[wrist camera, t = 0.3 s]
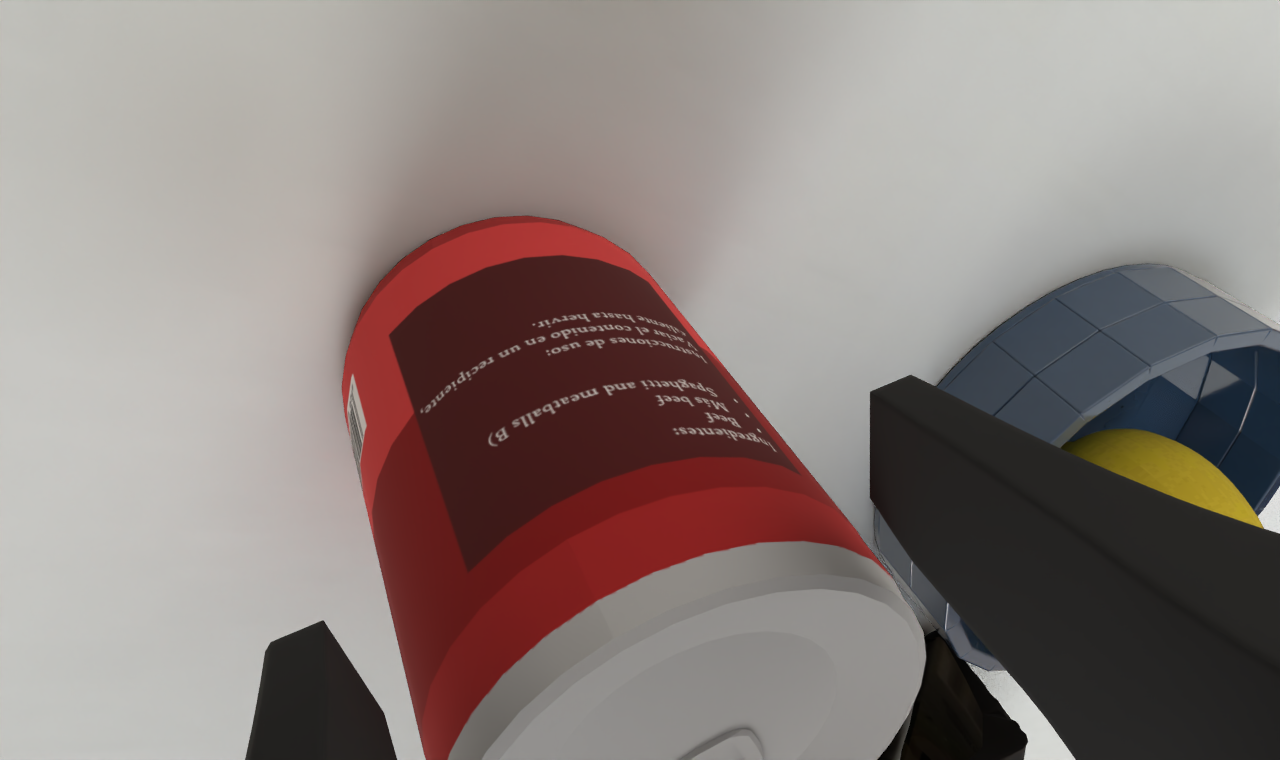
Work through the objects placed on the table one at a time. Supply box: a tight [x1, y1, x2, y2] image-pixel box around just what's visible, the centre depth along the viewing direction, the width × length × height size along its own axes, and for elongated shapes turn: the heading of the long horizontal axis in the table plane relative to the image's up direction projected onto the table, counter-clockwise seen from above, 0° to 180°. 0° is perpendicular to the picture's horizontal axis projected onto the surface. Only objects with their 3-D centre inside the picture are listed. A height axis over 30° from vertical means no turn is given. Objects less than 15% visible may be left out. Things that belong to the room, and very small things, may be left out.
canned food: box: [342, 216, 926, 760], centre depth 18 cm, size 8×8×11 cm
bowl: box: [874, 264, 1280, 671], centre depth 31 cm, size 14×14×4 cm
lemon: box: [1061, 429, 1264, 529], centre depth 30 cm, size 6×6×8 cm
